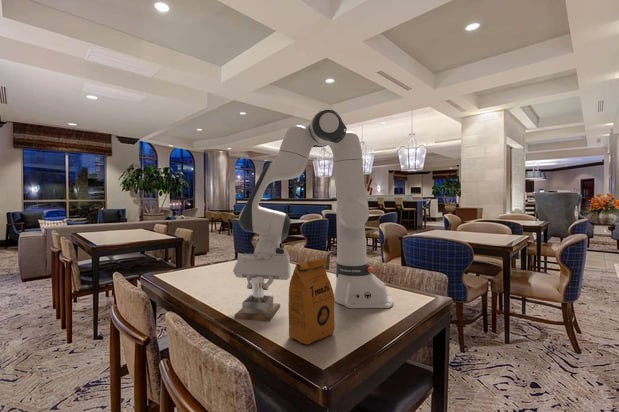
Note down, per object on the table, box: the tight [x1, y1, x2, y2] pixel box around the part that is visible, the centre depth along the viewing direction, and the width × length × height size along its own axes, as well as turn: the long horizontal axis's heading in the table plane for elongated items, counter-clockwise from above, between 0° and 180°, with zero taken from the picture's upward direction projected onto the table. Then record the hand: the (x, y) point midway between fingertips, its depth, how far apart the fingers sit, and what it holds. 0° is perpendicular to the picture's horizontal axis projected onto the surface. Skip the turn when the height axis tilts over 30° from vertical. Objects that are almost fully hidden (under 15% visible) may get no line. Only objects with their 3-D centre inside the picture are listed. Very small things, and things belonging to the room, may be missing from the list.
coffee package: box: [288, 257, 336, 345], centre depth 86 cm, size 10×12×22 cm
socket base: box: [234, 293, 281, 322], centre depth 104 cm, size 12×12×5 cm
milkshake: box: [249, 274, 265, 303], centre depth 104 cm, size 5×5×10 cm
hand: (257, 288), depth 103 cm, fingers closed on milkshake, 4 cm apart
